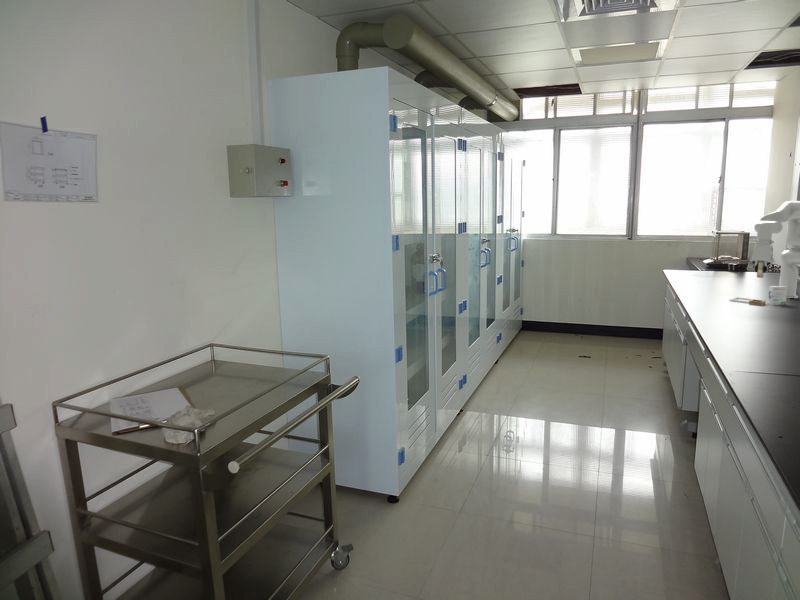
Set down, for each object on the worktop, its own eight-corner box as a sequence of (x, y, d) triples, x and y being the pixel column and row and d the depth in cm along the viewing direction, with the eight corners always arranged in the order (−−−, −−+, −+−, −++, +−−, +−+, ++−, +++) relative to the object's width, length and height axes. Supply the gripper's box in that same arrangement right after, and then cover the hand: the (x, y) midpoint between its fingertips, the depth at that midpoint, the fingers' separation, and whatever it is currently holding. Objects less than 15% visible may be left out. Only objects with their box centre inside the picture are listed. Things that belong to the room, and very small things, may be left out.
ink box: (771, 305, 336) (773, 287, 334) (766, 304, 341) (768, 285, 339) (786, 305, 335) (788, 287, 333) (781, 304, 340) (783, 285, 338)
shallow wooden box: (752, 303, 343) (752, 299, 342) (765, 305, 338) (765, 300, 337) (748, 305, 338) (749, 300, 338) (761, 306, 333) (762, 302, 333)
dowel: (757, 276, 337) (759, 260, 335) (764, 277, 335) (765, 261, 333) (755, 277, 335) (757, 261, 333) (762, 277, 333) (764, 261, 331)
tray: (735, 299, 357) (736, 297, 357) (754, 301, 349) (755, 299, 349) (729, 301, 350) (729, 299, 349) (748, 304, 341) (748, 301, 341)
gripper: (781, 242, 327) (778, 272, 331) (750, 241, 339) (747, 270, 343) (777, 243, 322) (774, 274, 326) (746, 242, 335) (743, 271, 338)
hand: (760, 271), depth 334 cm, fingers closed on dowel, 3 cm apart
